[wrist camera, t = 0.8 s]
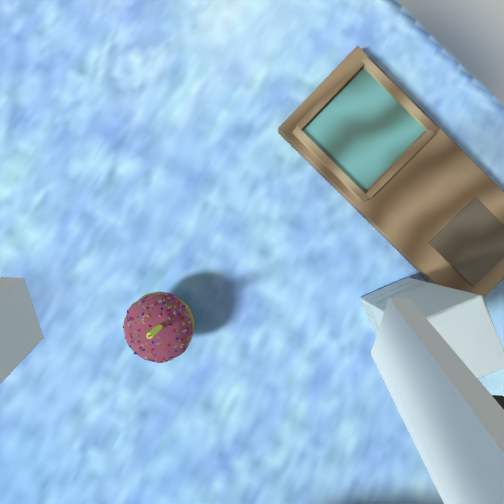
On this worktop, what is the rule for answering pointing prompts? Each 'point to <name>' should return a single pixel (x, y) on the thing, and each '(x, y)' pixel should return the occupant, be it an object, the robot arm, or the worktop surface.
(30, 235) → the worktop surface
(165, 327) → the cupcake
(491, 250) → the board
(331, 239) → the worktop surface
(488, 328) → the supplement box
